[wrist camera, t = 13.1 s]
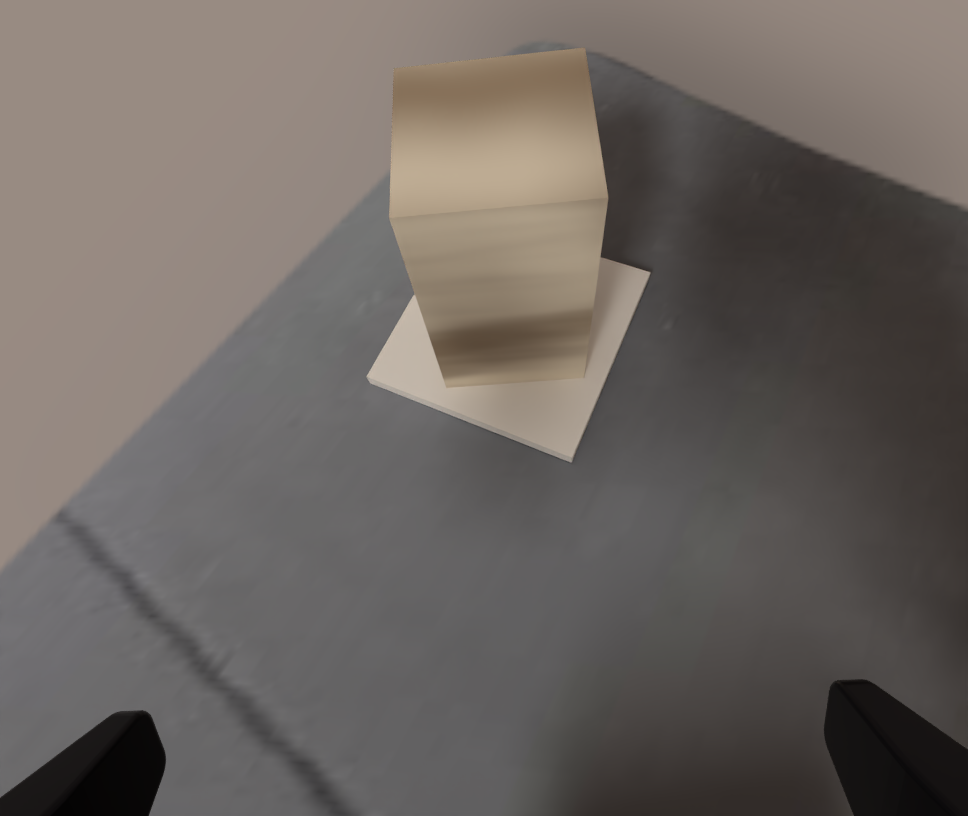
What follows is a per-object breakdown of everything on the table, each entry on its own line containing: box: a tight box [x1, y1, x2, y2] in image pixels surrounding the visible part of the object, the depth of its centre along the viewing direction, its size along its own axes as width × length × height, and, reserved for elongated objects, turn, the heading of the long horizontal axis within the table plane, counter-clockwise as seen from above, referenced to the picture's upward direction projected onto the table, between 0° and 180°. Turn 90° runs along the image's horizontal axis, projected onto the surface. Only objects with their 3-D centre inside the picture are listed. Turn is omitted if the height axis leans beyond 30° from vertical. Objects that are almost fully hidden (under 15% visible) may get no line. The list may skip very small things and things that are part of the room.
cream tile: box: [367, 257, 651, 463], centre depth 26 cm, size 9×9×1 cm
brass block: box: [389, 48, 608, 388], centre depth 21 cm, size 6×6×10 cm
